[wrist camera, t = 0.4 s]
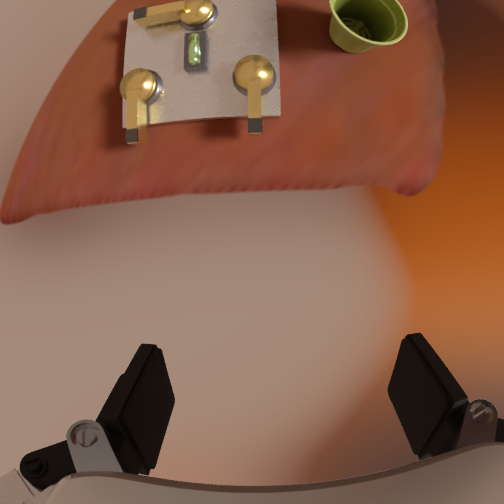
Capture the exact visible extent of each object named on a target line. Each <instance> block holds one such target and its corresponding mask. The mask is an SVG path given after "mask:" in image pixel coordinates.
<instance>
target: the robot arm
mask: <svg viewBox="0 0 504 504" xmlns="http://www.w3.org/2000/svg"><path fill="white" fill-rule="evenodd" d="M388 395H389V397H390V400H391V402H392V404H393V406H394V408H395V410H396V413H397V415H398V417H399V420H400V422H401V425H402V427H403V429H404V431H405V434H406V436H407V439H408V441H409V443H410V446H411V448H412V451H413V453H414V454H415V455H418V457H419V459H420V460H422V461H418V462H415V463H411V464H408V465H404V466H401V467H397V468H393V469H389V470H385V471H381V472H376V473H372V474H367V475H362V476H357V477H351V478H346V479H339V480H332V481H325V482H316V483H306V484H293V485H273V486H233V485H214V484H202V483H191V482H183V481H174V480H167V479H161V478H154V477H148V476H142V475H138V474H144V475H149V472H150V469H154V468H155V466H156V463H157V460H158V456H159V452H160V450H161V446H162V443H163V440H164V436H165V433H166V430H167V426H168V423H169V420H170V416H171V413H172V410H173V407H174V403H175V397H174V394H173V390H172V386H171V383H170V379H169V376H168V372H167V368H166V364H165V361H164V357H163V353H162V350H161V349H160V348H158V347H157V345H154V344H141V345H140V347H139V349H138V350H137V352H136V354H135V355H134V357H133V359H132V361H131V362H130V364H129V366H128V368H127V370H126V371H125V373H124V374H122V375H121V376H120V377H119V379H118V381H117V382H116V384H115V386H114V388H113V390H112V391H111V393H110V395H109V397H108V399H107V401H106V402H105V404H104V406H103V408H102V410H101V412H100V414H99V415H98V417H97V419H96V421H93V420H81V421H78V422H76V423H74V424H73V425H72V426H71V427H70V428H69V430H68V431H67V435H66V438H67V440H65V441H62V442H60V443H57V444H54V445H51V446H48V447H45V448H42V449H39V450H36V451H34V452H31V453H28V454H26V455H25V456H24V457H23V459H22V460H21V463H20V469H19V470H18V471H17V470H16V469H13V470H12V471H10V472H9V473H7V474H6V475H4V476H2V477H1V478H0V504H504V420H503V419H500V418H498V411H497V409H496V407H495V406H494V405H493V404H492V403H491V402H489V401H487V400H484V399H477V400H474V401H472V402H470V403H469V401H468V400H467V399H468V397H467V395H466V394H465V392H464V391H463V390H462V388H461V387H460V385H459V384H458V382H457V381H456V379H455V378H454V377H453V375H452V374H451V372H450V371H449V370H448V368H447V367H446V366H445V364H444V363H443V361H442V360H441V359H440V358H439V356H438V355H437V353H436V352H435V351H434V349H433V348H432V347H431V345H430V344H429V343H428V342H427V340H426V339H425V338H424V337H423V335H422V334H421V333H414V334H408V335H407V336H406V337H405V339H403V340H402V342H401V345H400V349H399V353H398V356H397V360H396V363H395V367H394V370H393V373H392V376H391V379H390V382H389V386H388ZM429 457H431V458H429ZM426 458H428V459H426ZM423 459H425V460H423Z"/></svg>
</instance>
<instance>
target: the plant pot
mask: <svg viewBox="0 0 504 504" xmlns="http://www.w3.org/2000/svg"><path fill="white" fill-rule="evenodd" d="M329 6H330V9H331V12H332V17H331V22H330V27H329V33H330V37H331V39H332V40H333V42H334V43H335V44H336V45H338V46H339V47H340V48H342V49H343V50H344V51H347V52H350V53H362V52H365V51H367V50H369V49H371V48H373V47H375V46H378V45H391V44H394V43H396V42H398V41H400V40H401V39H402V38H403V37H404V35H405V34H406V32H407V28H408V22H407V17H406V14H405V12H404V10H403V8H402V6H401V5H400V4H399V2H398V1H397V0H329ZM343 20H350V21H352V22H343ZM365 32H366V33H367V35H368V39H366V35H365Z"/></svg>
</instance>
